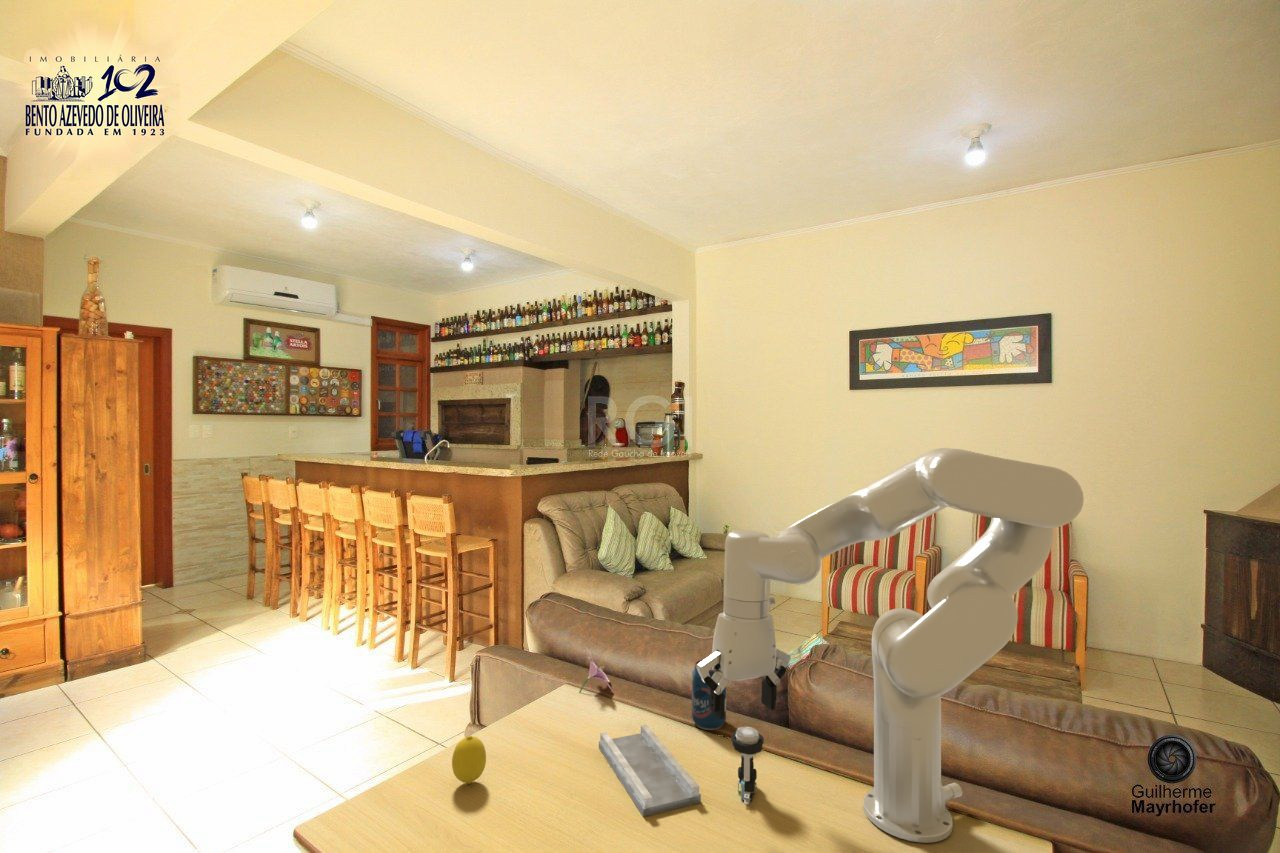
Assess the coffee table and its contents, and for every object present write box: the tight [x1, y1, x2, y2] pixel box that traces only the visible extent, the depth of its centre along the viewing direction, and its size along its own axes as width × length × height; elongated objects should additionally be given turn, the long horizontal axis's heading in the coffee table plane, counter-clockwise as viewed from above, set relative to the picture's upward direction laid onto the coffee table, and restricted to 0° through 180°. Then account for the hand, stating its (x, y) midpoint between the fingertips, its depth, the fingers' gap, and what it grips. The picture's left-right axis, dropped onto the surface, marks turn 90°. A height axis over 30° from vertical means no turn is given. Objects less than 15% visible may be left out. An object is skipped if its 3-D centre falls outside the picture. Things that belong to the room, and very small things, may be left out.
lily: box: [579, 643, 614, 693], centre depth 139 cm, size 12×12×10 cm
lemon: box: [451, 735, 487, 785], centre depth 101 cm, size 6×6×8 cm
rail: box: [598, 724, 702, 818], centre depth 105 cm, size 10×22×3 cm, turn 22°
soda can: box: [691, 659, 727, 731], centre depth 123 cm, size 7×7×12 cm
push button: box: [730, 726, 765, 805], centre depth 99 cm, size 7×5×10 cm
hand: (743, 710), depth 99 cm, fingers open, 9 cm apart
